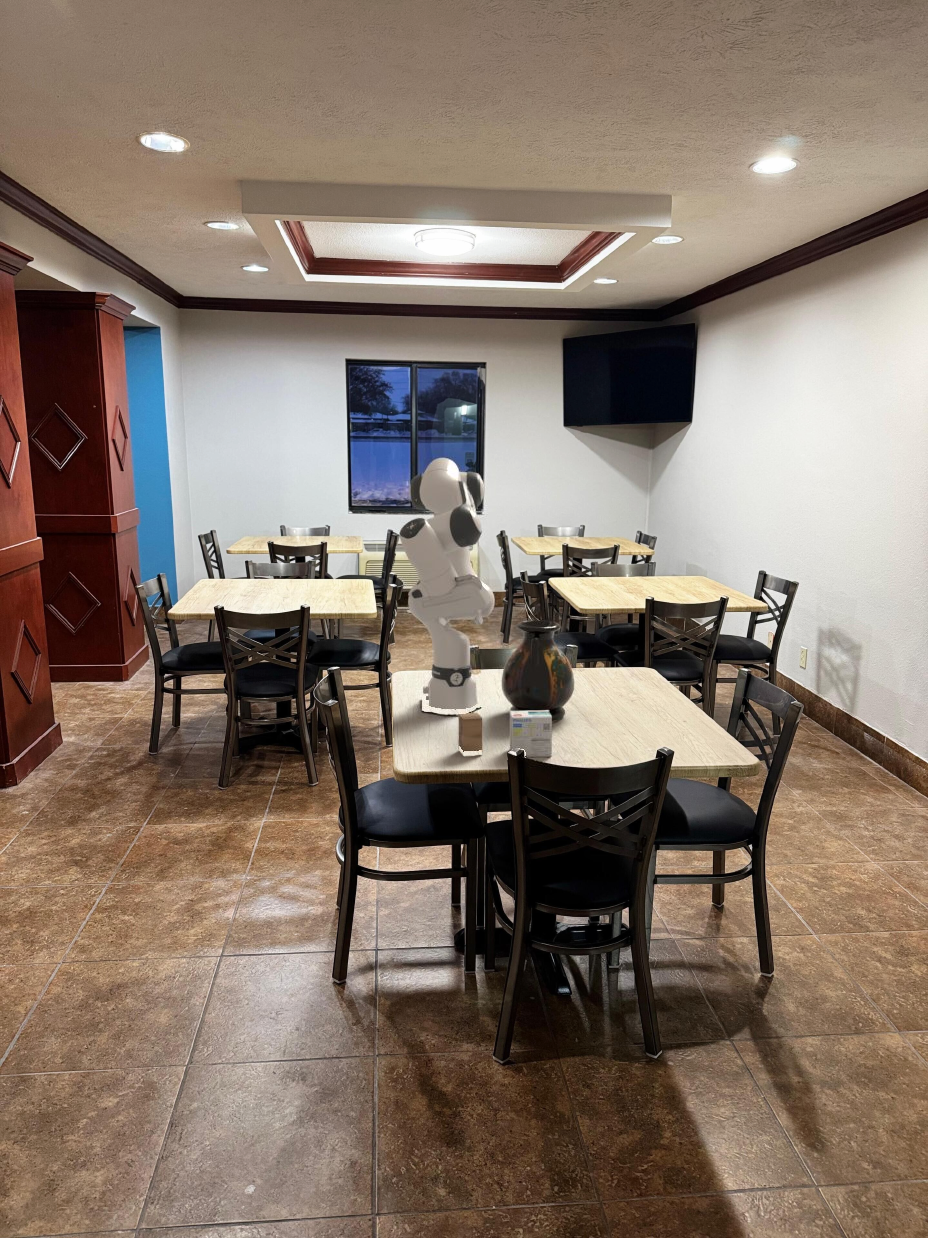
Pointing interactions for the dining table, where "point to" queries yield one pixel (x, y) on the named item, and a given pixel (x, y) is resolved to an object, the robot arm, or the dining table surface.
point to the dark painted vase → (538, 671)
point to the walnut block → (470, 732)
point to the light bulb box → (531, 732)
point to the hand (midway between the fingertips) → (464, 626)
